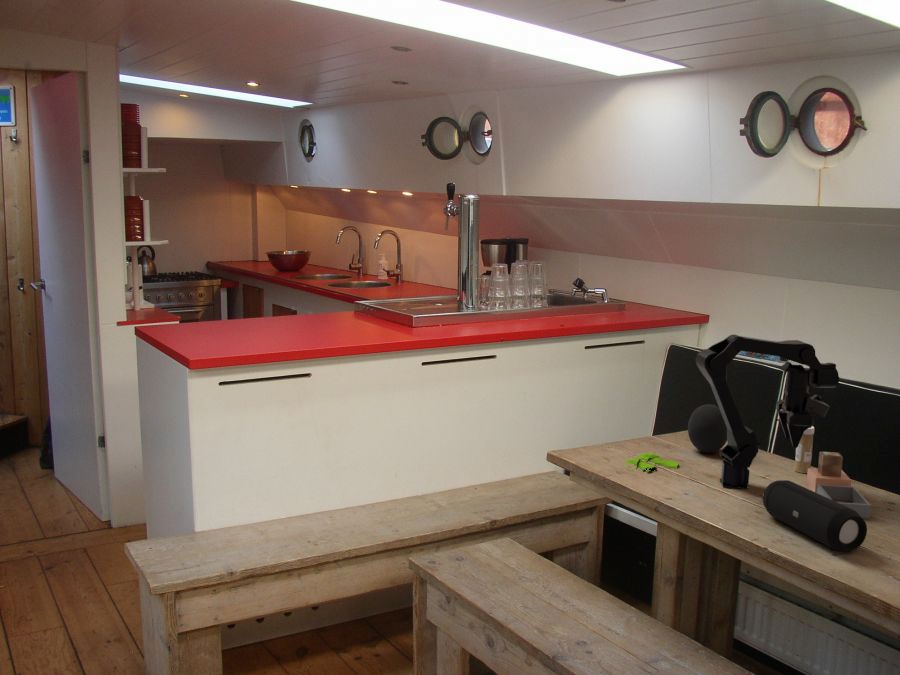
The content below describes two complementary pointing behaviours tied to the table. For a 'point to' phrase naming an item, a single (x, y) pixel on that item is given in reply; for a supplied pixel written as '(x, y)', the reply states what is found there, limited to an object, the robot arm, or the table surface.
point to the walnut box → (830, 464)
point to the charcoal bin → (847, 498)
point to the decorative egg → (707, 429)
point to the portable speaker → (815, 515)
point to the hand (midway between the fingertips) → (791, 442)
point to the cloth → (653, 459)
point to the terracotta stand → (825, 479)
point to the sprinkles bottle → (804, 451)
